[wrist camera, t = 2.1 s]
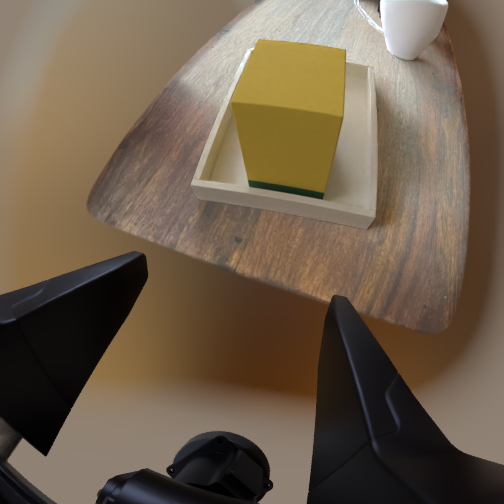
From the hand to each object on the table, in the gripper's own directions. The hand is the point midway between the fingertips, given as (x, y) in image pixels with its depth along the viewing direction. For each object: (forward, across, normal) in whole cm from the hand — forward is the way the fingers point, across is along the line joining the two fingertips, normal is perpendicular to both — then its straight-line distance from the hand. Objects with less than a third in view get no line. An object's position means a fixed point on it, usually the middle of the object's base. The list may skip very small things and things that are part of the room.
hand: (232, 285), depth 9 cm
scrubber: (+18, 0, -1) cm, 18 cm away
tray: (+22, 0, -4) cm, 22 cm away
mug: (+36, -10, -17) cm, 41 cm away
